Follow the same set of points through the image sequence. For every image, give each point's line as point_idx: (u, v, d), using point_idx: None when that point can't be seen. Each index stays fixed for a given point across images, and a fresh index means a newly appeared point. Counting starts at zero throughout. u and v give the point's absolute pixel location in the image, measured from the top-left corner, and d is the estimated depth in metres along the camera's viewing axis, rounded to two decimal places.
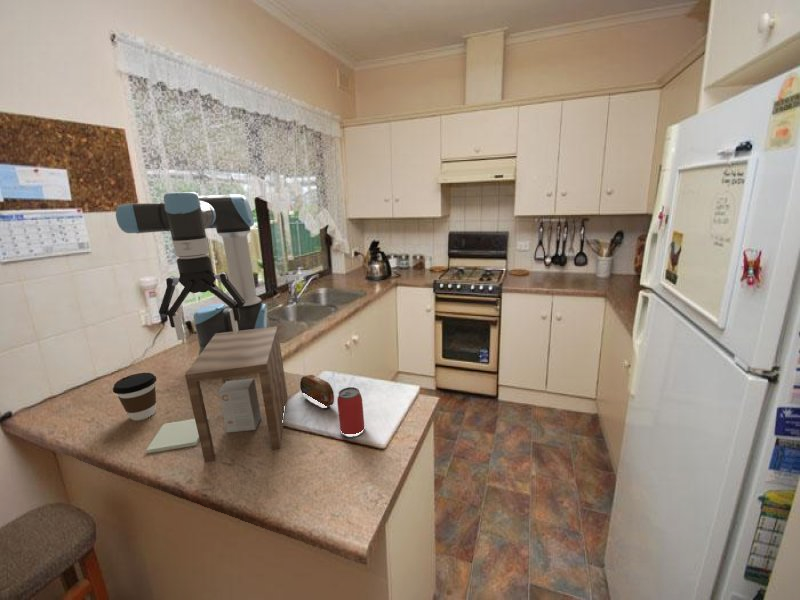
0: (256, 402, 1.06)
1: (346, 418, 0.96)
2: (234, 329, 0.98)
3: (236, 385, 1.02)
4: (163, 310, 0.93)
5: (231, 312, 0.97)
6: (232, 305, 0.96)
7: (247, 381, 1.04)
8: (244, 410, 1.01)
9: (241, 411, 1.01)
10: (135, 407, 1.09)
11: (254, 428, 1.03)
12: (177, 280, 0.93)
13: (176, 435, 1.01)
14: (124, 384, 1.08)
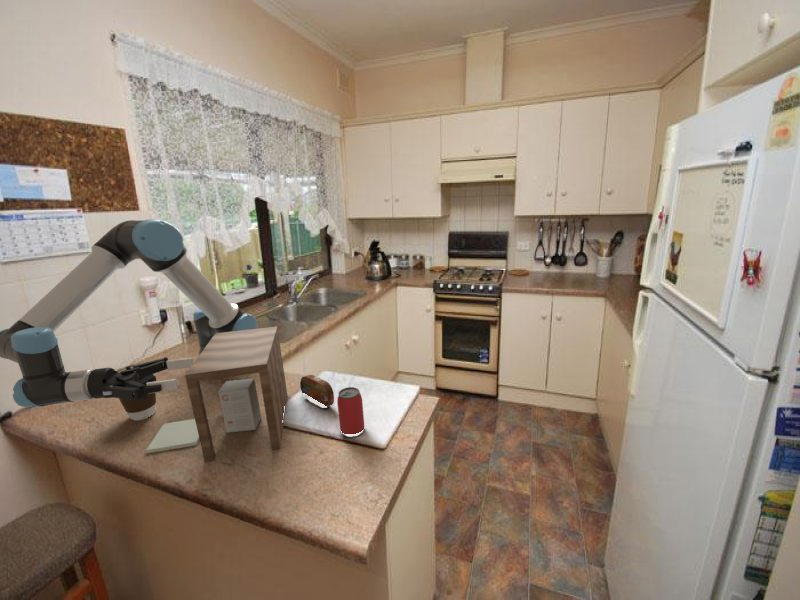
0: (256, 402, 1.06)
1: (346, 418, 0.96)
2: None
3: (236, 385, 1.02)
4: None
5: None
6: None
7: (247, 381, 1.04)
8: (244, 410, 1.01)
9: (241, 411, 1.01)
10: (135, 407, 1.09)
11: (254, 428, 1.03)
12: None
13: (176, 435, 1.01)
14: None
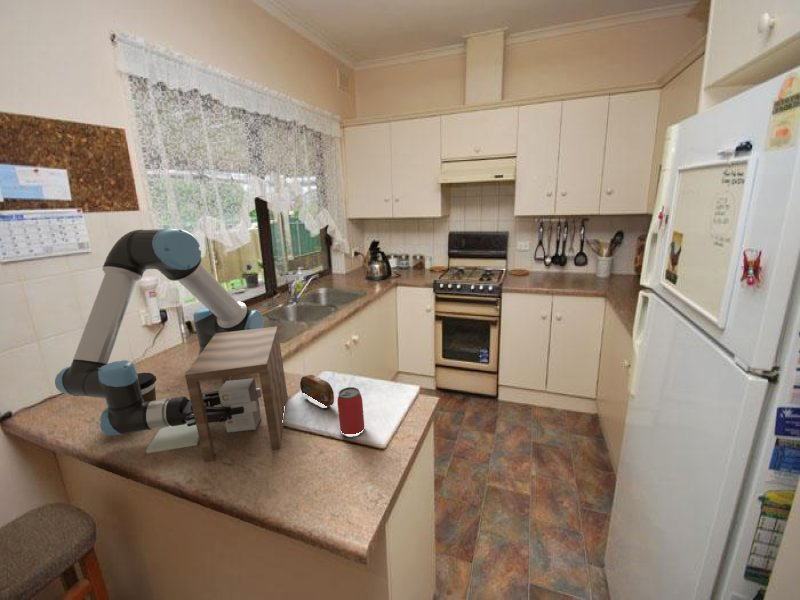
0: None
1: (346, 418, 0.96)
2: None
3: (237, 384, 1.02)
4: None
5: None
6: None
7: (247, 381, 1.04)
8: None
9: None
10: None
11: (254, 428, 1.03)
12: None
13: (176, 435, 1.01)
14: None
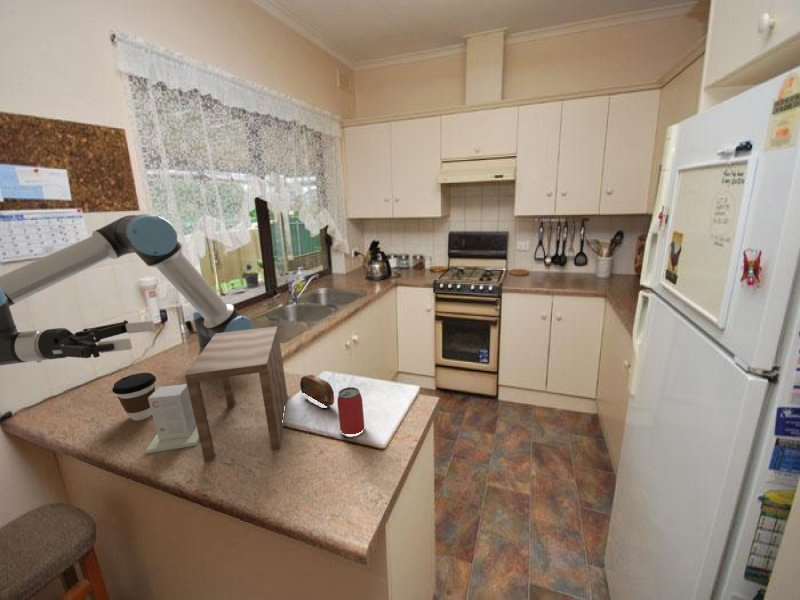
0: (191, 408, 1.02)
1: (346, 418, 0.96)
2: None
3: (169, 391, 0.99)
4: None
5: None
6: None
7: (181, 386, 1.00)
8: (176, 416, 0.98)
9: (173, 418, 0.98)
10: (134, 408, 1.08)
11: (188, 435, 1.00)
12: None
13: None
14: (123, 384, 1.08)
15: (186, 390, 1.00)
